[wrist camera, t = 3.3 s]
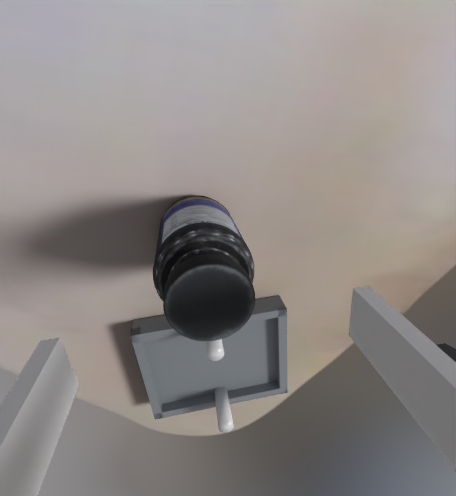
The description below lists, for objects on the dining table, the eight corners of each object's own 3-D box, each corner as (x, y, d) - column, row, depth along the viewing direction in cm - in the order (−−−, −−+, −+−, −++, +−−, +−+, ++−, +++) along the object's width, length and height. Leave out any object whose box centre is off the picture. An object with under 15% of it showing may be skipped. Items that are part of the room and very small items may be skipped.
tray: (156, 400, 32) (152, 449, 27) (133, 319, 27) (124, 362, 23) (280, 375, 34) (297, 418, 29) (279, 295, 29) (299, 330, 24)
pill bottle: (218, 269, 27) (242, 362, 17) (150, 251, 25) (133, 342, 15) (243, 206, 25) (288, 270, 15) (172, 182, 23) (168, 235, 13)
